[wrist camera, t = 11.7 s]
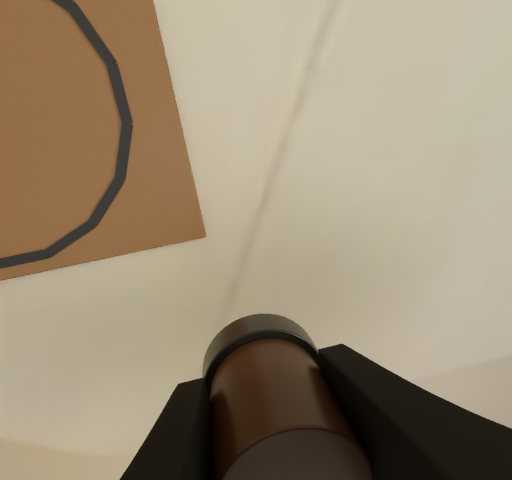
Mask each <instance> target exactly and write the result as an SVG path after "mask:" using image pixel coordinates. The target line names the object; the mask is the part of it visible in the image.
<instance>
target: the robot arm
mask: <svg viewBox="0 0 512 480" xmlns="http://www.w3.org/2000/svg"><path fill="white" fill-rule="evenodd" d="M318 353H319V359H320V366H321V372H322V374H323V376H324V378H325V380H326V382H327V383H328V385H329V387H330V389H331V391H332V392H333V394H334V396H335V398H336V400H337V401H338V403H339V405H340V407H341V409H342V410H343V412H344V414H345V416H346V418H347V419H348V421H349V423H350V425H351V427H352V428H353V430H354V432H355V434H356V436H357V437H358V439H359V441H360V443H361V445H362V446H363V448H364V450H365V452H366V454H367V456H368V458H369V460H370V463H371V466H372V469H373V477H374V480H512V429H511V428H508V427H506V426H504V425H501V424H499V423H496V422H494V421H491V420H489V419H486V418H484V417H481V416H479V415H477V414H474V413H472V412H470V411H468V410H466V409H463V408H461V407H459V406H457V405H455V404H453V403H451V402H449V401H446V400H444V399H442V398H440V397H438V396H436V395H434V394H432V393H430V392H428V391H426V390H424V389H422V388H420V387H418V386H416V385H414V384H413V383H411V382H409V381H407V380H405V379H403V378H401V377H400V376H398V375H396V374H394V373H392V372H391V371H389V370H387V369H385V368H383V367H382V366H380V365H378V364H377V363H375V362H373V361H371V360H370V359H368V358H366V357H364V356H363V355H361V354H359V353H358V352H356V351H354V350H352V349H351V348H349V347H347V346H345V345H344V344H339V345H335V346H331V347H326V348H322V349H318ZM120 480H212V469H211V403H210V399H209V395H208V391H207V387H206V383H205V379H204V378H200V379H196V380H192V381H188V382H184V383H180V384H178V385H177V387H176V388H175V390H174V392H173V393H172V395H171V397H170V399H169V400H168V402H167V404H166V406H165V407H164V409H163V411H162V413H161V414H160V416H159V418H158V419H157V421H156V423H155V425H154V426H153V428H152V430H151V431H150V433H149V435H148V436H147V438H146V439H145V441H144V443H143V444H142V446H141V447H140V449H139V451H138V452H137V454H136V456H135V457H134V459H133V460H132V462H131V464H130V465H129V466H128V468H127V469H126V471H125V472H124V474H123V475H122V477H121V478H120Z"/></svg>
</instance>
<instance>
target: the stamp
mask: <svg viewBox="0 0 512 480" xmlns="http://www.w3.org/2000/svg"><path fill="white" fill-rule="evenodd" d="M202 378H204V379H205V383H206V387H207V391H208V395H209V399H210V403H211V469H212V480H374V477H373V469H372V466H371V463H370V460H369V458H368V456H367V454H366V452H365V450H364V448H363V446H362V445H361V443H360V441H359V439H358V437H357V436H356V434H355V432H354V430H353V428H352V427H351V425H350V423H349V421H348V419H347V418H346V416H345V414H344V412H343V410H342V409H341V407H340V405H339V403H338V401H337V400H336V398H335V396H334V394H333V392H332V391H331V389H330V387H329V385H328V383H327V382H326V380H325V378H324V376H323V374H322V372H321V366H320V359H319V353H318V349H317V348H316V346H315V345H314V343H313V341H312V340H311V338H310V336H309V335H308V334H307V332H306V331H305V330H304V329H303V328H302V327H301V326H300V325H298V324H297V323H295V322H294V321H292V320H290V319H288V318H286V317H283V316H279V315H274V314H254V315H250V316H246V317H243V318H240V319H238V320H236V321H234V322H232V323H231V324H229V325H228V326H226V327H225V328H224V329H223V330H221V331H220V332H219V333H218V334H217V336H216V337H215V338H214V339H213V341H212V342H211V344H210V345H209V347H208V349H207V351H206V354H205V357H204V362H203V376H202Z"/></svg>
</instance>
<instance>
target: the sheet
mask: <svg viewBox="0 0 512 480" xmlns="http://www.w3.org/2000/svg"><path fill="white" fill-rule="evenodd" d="M203 237H206V234H205V229H204V225H203V220H202V216H201V211H200V207H199V203H198V198H197V194H196V189H195V185H194V181H193V176H192V172H191V167H190V163H189V158H188V154H187V150H186V145H185V141H184V136H183V132H182V127H181V123H180V119H179V114H178V110H177V105H176V101H175V97H174V92H173V88H172V83H171V79H170V74H169V70H168V66H167V61H166V57H165V52H164V48H163V44H162V39H161V35H160V30H159V26H158V21H157V17H156V13H155V8H154V4H153V0H0V280H5V279H10V278H14V277H19V276H24V275H29V274H33V273H38V272H43V271H48V270H52V269H57V268H62V267H66V266H71V265H76V264H81V263H85V262H90V261H95V260H99V259H104V258H109V257H114V256H118V255H123V254H128V253H133V252H137V251H142V250H147V249H151V248H156V247H161V246H166V245H170V244H175V243H180V242H184V241H189V240H194V239H199V238H203Z"/></svg>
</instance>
